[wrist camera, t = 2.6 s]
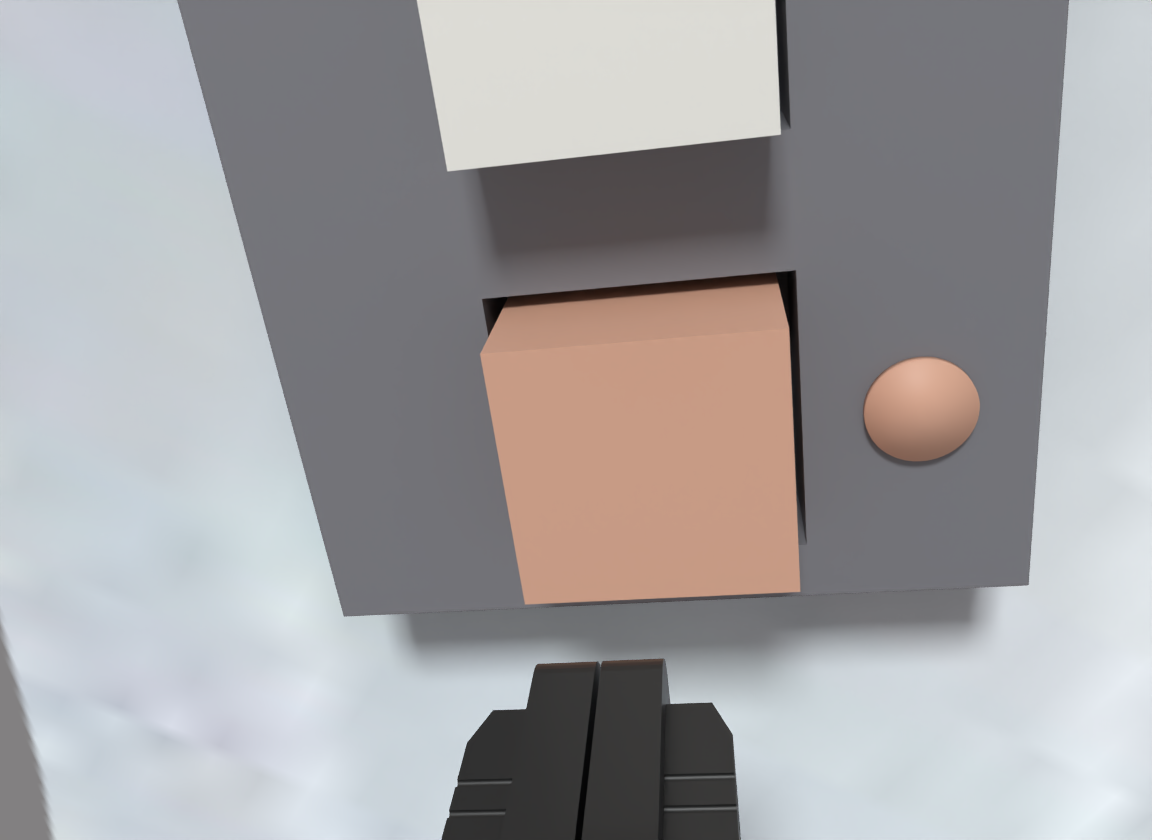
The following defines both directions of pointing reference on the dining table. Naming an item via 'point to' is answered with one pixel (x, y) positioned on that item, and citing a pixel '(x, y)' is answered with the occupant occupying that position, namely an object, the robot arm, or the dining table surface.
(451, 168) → the key middle
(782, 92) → the keypad
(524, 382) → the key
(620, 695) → the robot arm
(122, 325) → the dining table surface
